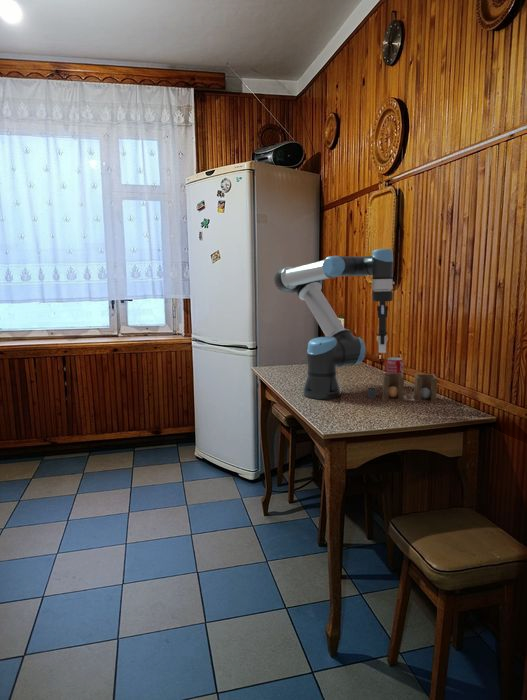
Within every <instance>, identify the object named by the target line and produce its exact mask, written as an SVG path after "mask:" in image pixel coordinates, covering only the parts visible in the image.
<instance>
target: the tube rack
mask: <svg viewBox="0 0 527 700" xmlns="http://www.w3.org/2000/svg"><path fill="white" fill-rule="evenodd" d="M382 375H383V377H382V378H383V379H382V394H381V398H382V400H383V401H404V402H405V401H406V402H407V401H408V402H426V403H428V402H431V403H432V402H433V403H437V402H438V401H437V395H438V394H437V392H438V391H437V390H438V389H437V388H438V377H437V376H436V375H435V374H433V373H432V374H431V373H414V384H413V385H414V387H413V395H404V388H405V387H404V385H405V384H404V383H405V377H404V373H403V374H402V373H386V372H383V374H382ZM392 386H393V387H396V388H397V389H398V396H397V397H395V398H391V397H389V387H392ZM422 388H428V389H429V390H430V391H431V396H430V397H429V398H428V399H423V398H421V394H422Z"/></svg>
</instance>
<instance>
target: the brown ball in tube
mask: <svg viewBox="0 0 527 700" xmlns="http://www.w3.org/2000/svg"><path fill="white" fill-rule="evenodd" d="M397 396H398V389H397V388H396V387H393V386H392V387H389V397H391V398H395V397H397Z"/></svg>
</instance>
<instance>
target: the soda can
mask: <svg viewBox="0 0 527 700" xmlns="http://www.w3.org/2000/svg"><path fill="white" fill-rule="evenodd" d="M385 373H402V374H403V375H404V361H403V358H402V357H393V356H392V357H387V360H386V361H385Z"/></svg>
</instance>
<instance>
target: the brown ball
mask: <svg viewBox="0 0 527 700" xmlns="http://www.w3.org/2000/svg"><path fill="white" fill-rule="evenodd" d="M388 341H389V337H388V334H386V344H387V343H388ZM376 342H377V344H379V336H377V335H376Z"/></svg>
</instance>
